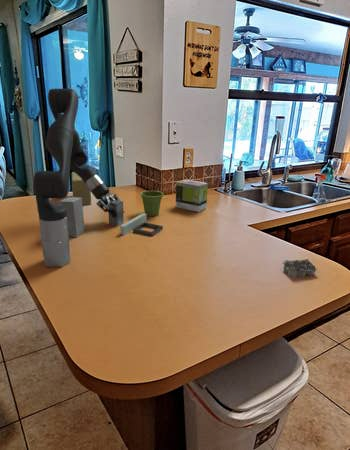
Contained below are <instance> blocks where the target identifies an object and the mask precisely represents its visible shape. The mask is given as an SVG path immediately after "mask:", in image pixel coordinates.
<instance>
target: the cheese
mask: <svg viewBox="0 0 350 450" xmlns="http://www.w3.org/2000/svg"><path fill="white" fill-rule="evenodd" d="M71 191H72V197H78V198H82V207H83V206H90V205H92V192H91V191H90V190H89V189H88V187H87V185H86V184H85V182H84V181H83V180H82V179H81V178H80V177H79V176H78V175H77V174H76V173H75V172H73V171H72V172H71Z"/></svg>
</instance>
